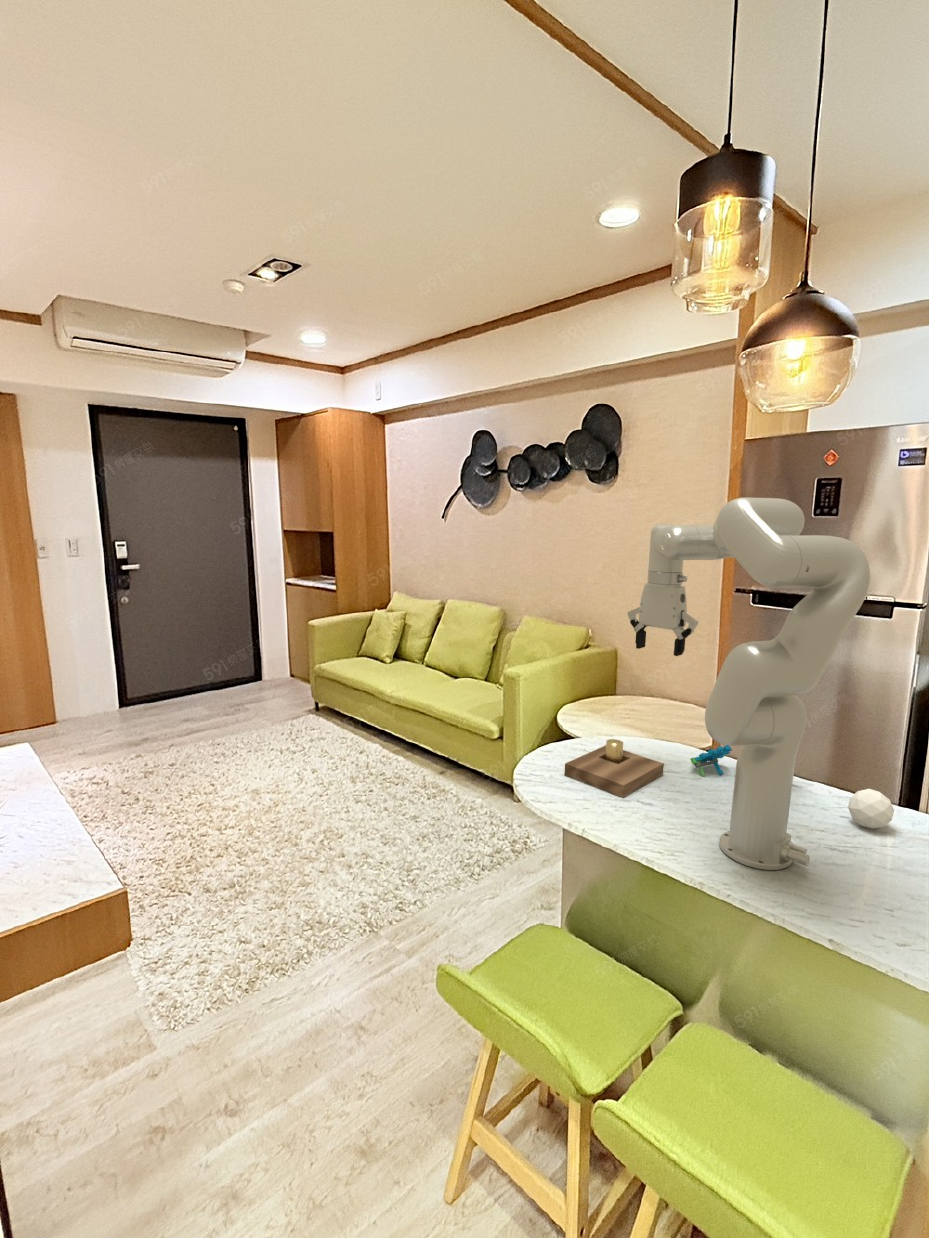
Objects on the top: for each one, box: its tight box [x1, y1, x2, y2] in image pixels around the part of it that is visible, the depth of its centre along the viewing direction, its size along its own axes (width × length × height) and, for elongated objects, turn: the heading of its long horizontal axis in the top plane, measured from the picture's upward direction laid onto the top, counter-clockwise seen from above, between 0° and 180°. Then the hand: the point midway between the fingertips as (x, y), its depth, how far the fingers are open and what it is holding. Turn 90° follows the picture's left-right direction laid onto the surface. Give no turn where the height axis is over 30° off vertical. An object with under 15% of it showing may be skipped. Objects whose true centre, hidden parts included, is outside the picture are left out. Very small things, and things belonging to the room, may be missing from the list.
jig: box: [564, 745, 665, 799], centre depth 150 cm, size 16×18×3 cm
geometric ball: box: [847, 788, 895, 830], centre depth 128 cm, size 8×8×8 cm
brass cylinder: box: [605, 738, 624, 764], centre depth 153 cm, size 4×4×7 cm
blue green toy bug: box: [689, 745, 733, 777], centre depth 153 cm, size 11×6×10 cm
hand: (658, 651), depth 147 cm, fingers open, 9 cm apart
